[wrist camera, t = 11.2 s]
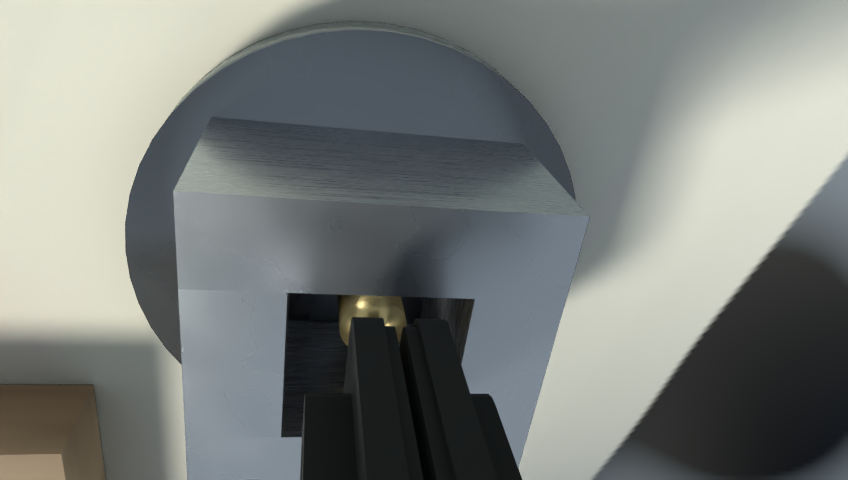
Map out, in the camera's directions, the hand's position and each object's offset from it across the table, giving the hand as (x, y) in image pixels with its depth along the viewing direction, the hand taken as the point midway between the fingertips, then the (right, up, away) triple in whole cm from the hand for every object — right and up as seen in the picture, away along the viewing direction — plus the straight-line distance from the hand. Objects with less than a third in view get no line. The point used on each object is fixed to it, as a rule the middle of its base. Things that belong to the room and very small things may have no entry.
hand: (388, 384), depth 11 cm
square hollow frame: (-1, +2, +4) cm, 5 cm away
